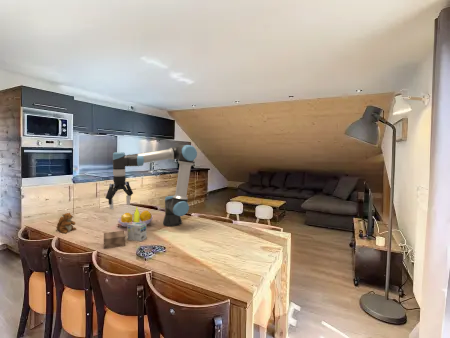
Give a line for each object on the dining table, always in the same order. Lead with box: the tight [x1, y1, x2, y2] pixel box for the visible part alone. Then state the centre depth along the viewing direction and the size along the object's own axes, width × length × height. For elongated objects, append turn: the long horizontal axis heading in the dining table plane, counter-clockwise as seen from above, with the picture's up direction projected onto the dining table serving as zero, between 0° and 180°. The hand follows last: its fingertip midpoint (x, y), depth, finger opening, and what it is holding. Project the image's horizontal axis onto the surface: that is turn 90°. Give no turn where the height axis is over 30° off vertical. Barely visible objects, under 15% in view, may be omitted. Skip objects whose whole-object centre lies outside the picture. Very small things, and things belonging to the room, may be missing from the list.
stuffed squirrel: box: [56, 212, 77, 234], centre depth 178 cm, size 10×14×13 cm
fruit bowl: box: [117, 206, 154, 228], centre depth 194 cm, size 28×27×11 cm
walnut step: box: [103, 230, 126, 250], centre depth 155 cm, size 12×12×6 cm
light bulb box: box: [126, 222, 147, 242], centre depth 164 cm, size 11×7×11 cm, turn 74°
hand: (120, 207), depth 163 cm, fingers open, 13 cm apart
